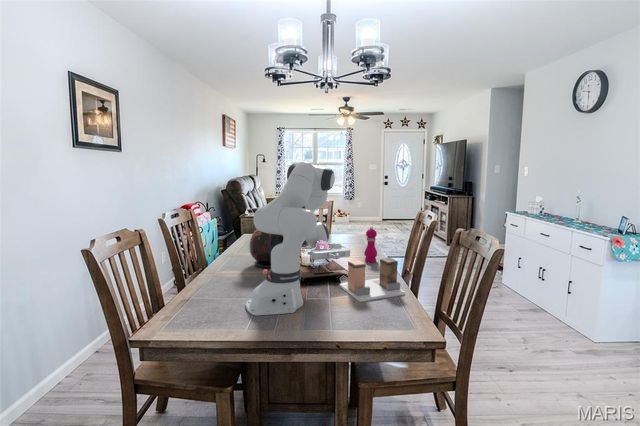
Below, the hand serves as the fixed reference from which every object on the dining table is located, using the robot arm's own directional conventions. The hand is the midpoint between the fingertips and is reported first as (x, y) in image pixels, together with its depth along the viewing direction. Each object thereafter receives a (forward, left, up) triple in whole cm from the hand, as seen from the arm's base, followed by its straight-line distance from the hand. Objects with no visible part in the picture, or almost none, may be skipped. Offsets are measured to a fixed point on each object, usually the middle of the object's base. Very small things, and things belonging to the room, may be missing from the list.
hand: (336, 257), depth 172 cm
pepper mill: (+30, +18, -10) cm, 37 cm away
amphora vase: (-25, +31, -10) cm, 42 cm away
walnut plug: (+15, -23, -9) cm, 28 cm away
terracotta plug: (0, -21, -9) cm, 23 cm away
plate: (+7, -21, -10) cm, 24 cm away
